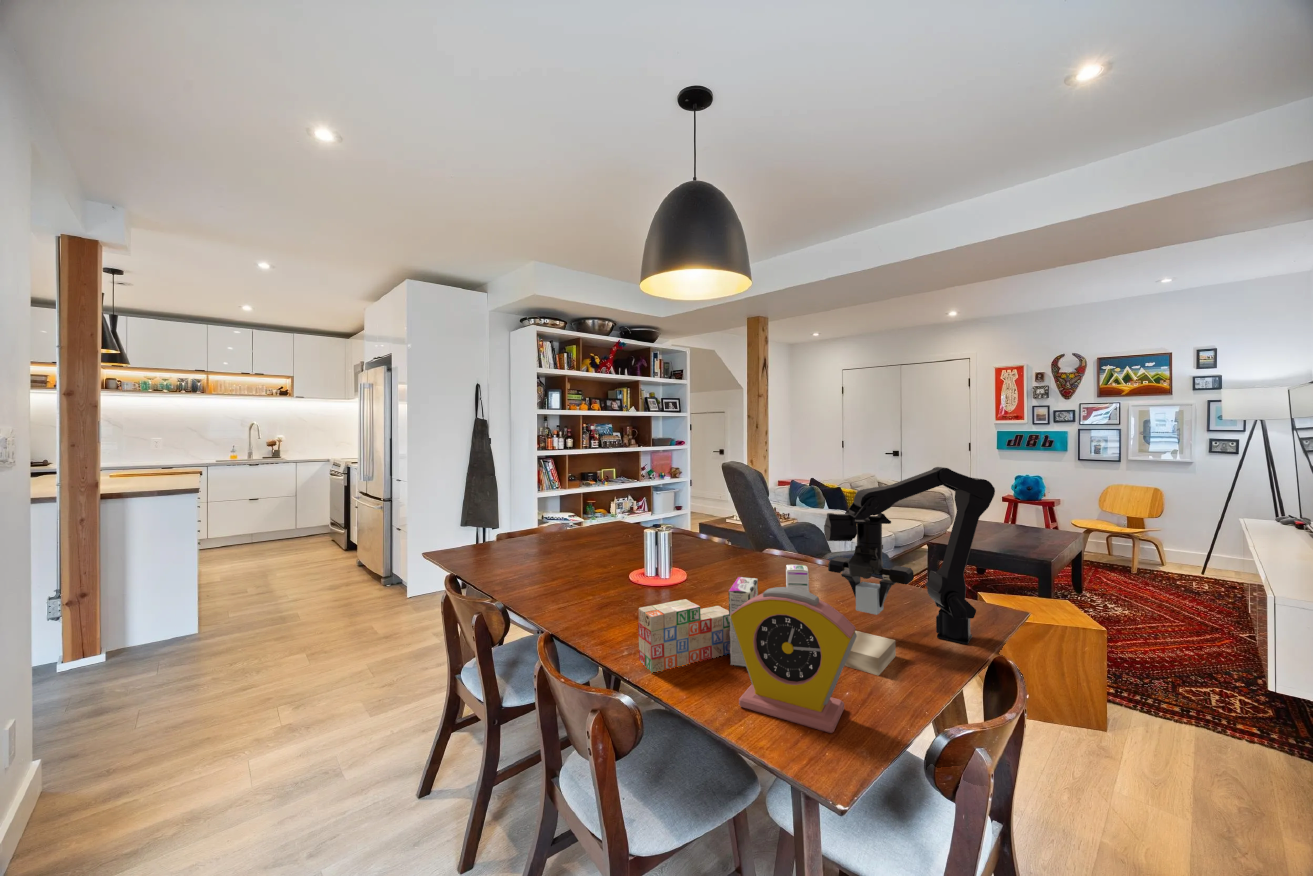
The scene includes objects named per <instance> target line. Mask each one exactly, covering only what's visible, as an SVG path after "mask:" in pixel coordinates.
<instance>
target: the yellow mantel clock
mask: <svg viewBox="0 0 1313 876" xmlns="http://www.w3.org/2000/svg"><path fill="white" fill-rule="evenodd" d="M730 617H731V619H730V620H731V623H732V626H733V629H734V632H735V635H736V638H737V641H738V644H739V647H740V650H741V653H742V656H743V659H744V662H745V665H746V667H745V668H746V670H747V674H748V677H749V679H750V680H749V681H750V682H751V685H750V686H749V687H748V688H747V689H746V690H745V692H743V694H742V695H740V697H739V698H738V705H739V707H740V708H744V709H746V710H749V711H754V712H756V713H760V714H764V715H768V716H771V717H774V718H778V719H781V720H784V721H788V722H791V723H795V724H798V725H801V726H804V727H808V728H811V729H813V730H814V729H815V730H819V731H820V732H825V733H829V734H833V733H834V732H835V731H836V730H835V729H836V728H837V725H838V724H839V721H840V718H841V716H842V714H843V712H844V710H845V702H844V701H843V700H841V699H839V698H835V697H832V696H833V693H834V690H835V689H836V686H837V684H838V682H839V679H840V676H841V674H842V672H843V669H844V668H845V666H844V665H845V663H846V660H847V658H848V656H849V653H850V651H851V649H852V646H853V644H854V642H855V639H856V637H857V635H856V633H855V631H857V630H856V626H855V625H854V624H853V623H852V622H851V621H850V620H849V619H848V618H847V617H846V616H845V615H844V614H843V613H841V612H840V611H838V610H837V609H835V607H834V606H832V605H831V604H830V603H828V602H825V601H823V600H821V599H820V598H819V596H817V595H816V594H813V593H812V592H810V591H809V592H807V591H804V590H801V589H797V588H794V587H786V586H777V587H770V588H767V589H766V590H764V591H763V592H762V593H760V594H758V596H756V597H754V598H751V599H750V600H748V601H747V602H746V603H744V604H743V605H741V606H740V607H739V608H737V609H736V610H735V611H733V612H732V613H731V616H730Z"/></svg>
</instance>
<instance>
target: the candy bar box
mask: <svg viewBox="0 0 1313 876" xmlns="http://www.w3.org/2000/svg"><path fill="white" fill-rule="evenodd" d="M758 581H759V579H758V578H755V577H744V576H738V577H737V578H736V580H735V581H734V582H733V584H732V585H731V587H730V588H729V589H728V611H729V634H730V654H729V665H730V666H733V665H734V666H733V667H740V668H746V665H745V662H744V659H743V656H742V653H741V650H740V647H739V644H738V641H737V638H736V635H735V632H734V629H733V626H732V623H731V620H730V619H731V617H730V616H731V613H732V612H733V611H735V610H736V609H737V608H739V607H740V606H741V605H743V604H744V603H746V602H747V601H748V600H750V599H751V598H754V597H756V596H758V595H759V590H758V589H759V585H758V584H759V583H758Z"/></svg>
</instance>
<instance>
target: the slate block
mask: <svg viewBox="0 0 1313 876" xmlns="http://www.w3.org/2000/svg"><path fill="white" fill-rule="evenodd" d="M879 598H880V583H875V582H873V583H872V582H868V581H863V580H862V581H860V583H859V584H858V585H856V598H855V611H857V612H860V613H861V612H862V613H867V614H871V615H875V616H877V615H879V614H880V613H881V612H883V611H884V607H885V605H884V604H883V606H882V607H880V605H879Z"/></svg>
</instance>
